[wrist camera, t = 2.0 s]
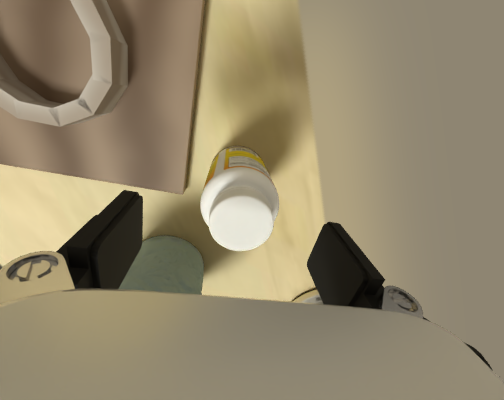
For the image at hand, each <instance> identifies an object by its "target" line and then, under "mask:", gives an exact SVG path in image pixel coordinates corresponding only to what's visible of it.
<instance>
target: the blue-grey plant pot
mask: <svg viewBox="0 0 504 400" xmlns="http://www.w3.org/2000/svg"><path fill="white" fill-rule="evenodd" d="M203 273H204V262H203V259H202V256H201V254H200V253H199V251H198V250H197V249H196V247H194V246H193V245H192V244H191V243H189V242H188V241H186V240H183V239H181V238H178V237H174V236H156V237H152V238H149V239H147V240H145V241H143V242H142V246H141V249H140V251H139V253H138V254H137V256H136V258H135V260H134V262H133V263H132V265H131V267H130V269H129V271H128V272H127V274H126V276H125V278H124V280H123V281H122V283H121V285H120V287H119V289H126V290H143V291H157V292H171V293H185V294H199V295H202V293H201V291H202V283H203Z"/></svg>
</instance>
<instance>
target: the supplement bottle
mask: <svg viewBox="0 0 504 400" xmlns="http://www.w3.org/2000/svg"><path fill="white" fill-rule="evenodd" d="M200 207H201V213H202V216H203V219H204V220H205V222H206V224H207V225H208V226H209V230H210V233H211V235H212V237H213V238H214V239H215V241H216V242H217V243H218V244H220V245H221V246H223V247H225V248H227V249H230V250H234V251H247V250H251V249H254V248H256V247H258V246H260V245H261V244H263V243H264V242H265V241H266V240H267V239H268V238H269V236H270V235H271V233H272V230H273V225H274V221H275V219H276V217H277V214H278V210H279V197H278V193H277V190H276V188H275V186H274V184H273V182H272V180H271V177H270V175H269V173H268V171H267V169H266V167H265V165H264V163H263V161H262V159H261V158H260V156H259V155H258V154H257V153H256V152H254V151H253V150H251V149H249V148H247V147H243V146H232V147H228V148H226V149H224V150H222V151H221V152H219V153H218V154H217V155H216V157H215V158H214V160H213V162H212V164H211V167H210V170H209V173H208V176H207V179H206V183H205V186H204V189H203V192H202V196H201V202H200Z"/></svg>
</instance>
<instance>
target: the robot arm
mask: <svg viewBox="0 0 504 400" xmlns="http://www.w3.org/2000/svg"><path fill="white" fill-rule="evenodd" d="M142 226H143V198H142V196H139V194H138V192H133V191H126V190H124V191H122V192H121V193H120V194H119V195H118V196H117V197H116V198H115V199H114V200H113V201H112V202H111V203H110V204H109V205H108V206H107V207H106V208H105V209H104V210H103V211H102V212H101V213H100V214H99V215H95V216H94V217H93V218H92V219H91V220H89V221H88V222H87V223H86V224H85V225H84V226H83V227H82V228H81V229H80V230H79V231H78V232H77V233H76V234H75V235H74V236H73V237H71V238H70V239H69V240H68V241H67V242H66V243H65V244H64V245H63V246H62V247H61V248H60V249H59V250H58V251H57V252H52V251H39V252H34V253H29V254H26V255H23V256H20V257H18V258H16V259H14V260H12V261H10V262H9V263H8V264H6V265H5V266H4V267H3V268H2V269H1V270H0V400H504V379H502V378H501V377H500V376H499V377H498V376H497V375H496V374H495V373H494V372H493V370H492V368H491V367H490V365H489V364H488V362H487V361H486V360H485V359H484V357H483V356H482V355H481V354H480V353H479V352H478V351H477V350H476V349H475V348H473V347H472V346H470V345H468V344H466V343H464V342H463V341H462V340H460V339H459V338H458V337H457V336H455V335H454V334H453V333H451V332H450V331H448V330H446V329H444V328H443V327H440V326H439V325H437V324H434V323H432V322H430V321H429V320H427V319H426V318H424V317H423V312H422V308H421V306H420V304H419V303H418V302H417V301H416V300H415V298H414V297H412V296H411V295H410V294H409V293H407V292H406V291H404V290H402V289H400V288H398V287H395V286H387V287H385V288H384V287H383V286H382V284H383V282H384V281H385V279H384V278H383V276H382V275H381V274H380V273H379V272H378V270H377V269H376V268H375V267H374V265H373V264H372V263H371V262H370V261H369V259H368V258H367V257H366V255H364V253H363V252H362V251H361V249H360V248H359V247H358V246H357V244H356V243H355V242H354V241H353V239H352V238H351V237H350V236H349V235H348V233H347V232H346V231H345V230H344V228H343V227H342V226H341V225H340V224H338V223H332V222H328V223H327V224H324V225H323V227H322V230H321V232H320V234H319V236H318V239H317V241H316V243H315V245H314V248H313V250H312V252H311V254H310V257H309V259H308V261H307V267H308V270H309V272H310V274H311V277H312V279H313V281H314V284H315V286H316V288H317V289H316V290H313V291H310V292H308V293H306V294H303V295H301V296H300V297H298V298H297V299H295V300H294V301H293V302H291V301H278V300H265V299H252V298H240V297H227V296H213V295H199V294H185V293H171V292H157V291H143V290H126V289H119V287H120V285H121V283H122V281H123V280H124V278H125V276H126V274H127V272H128V271H129V269H130V267H131V265H132V263H133V262H134V260H135V258H136V256H137V254H138V253H139V251H140V249H141V246H142Z"/></svg>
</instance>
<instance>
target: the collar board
mask: <svg viewBox="0 0 504 400" xmlns="http://www.w3.org/2000/svg"><path fill="white" fill-rule="evenodd" d="M204 8H205V0H0V164H3V165H9V166H15V167H21V168H27V169H33V170H39V171H45V172H51V173H57V174H63V175H69V176H75V177H81V178H87V179H93V180H99V181H105V182H111V183H117V184H123V185H129V186H134V187H140V188H146V189H152V190H158V191H164V192H170V193H176V194H182V195H183V193H184V191H185V188H186V179H187V169H188V160H189V150H190V141H191V131H192V122H193V112H194V103H195V93H196V84H197V75H198V65H199V56H200V46H201V37H202V27H203V18H204Z"/></svg>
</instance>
